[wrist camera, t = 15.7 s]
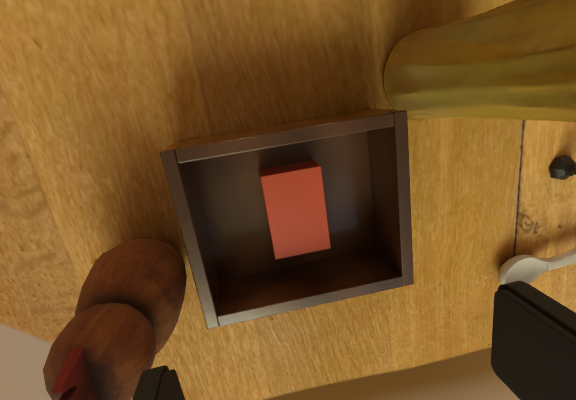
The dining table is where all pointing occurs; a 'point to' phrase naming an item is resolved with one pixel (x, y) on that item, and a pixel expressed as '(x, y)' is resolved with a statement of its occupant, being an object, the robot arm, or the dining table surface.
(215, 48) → the dining table surface
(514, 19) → the vase
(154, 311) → the wooden figurine
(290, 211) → the red rectangular prism
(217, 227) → the holder
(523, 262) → the spoon
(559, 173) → the chess pawn
